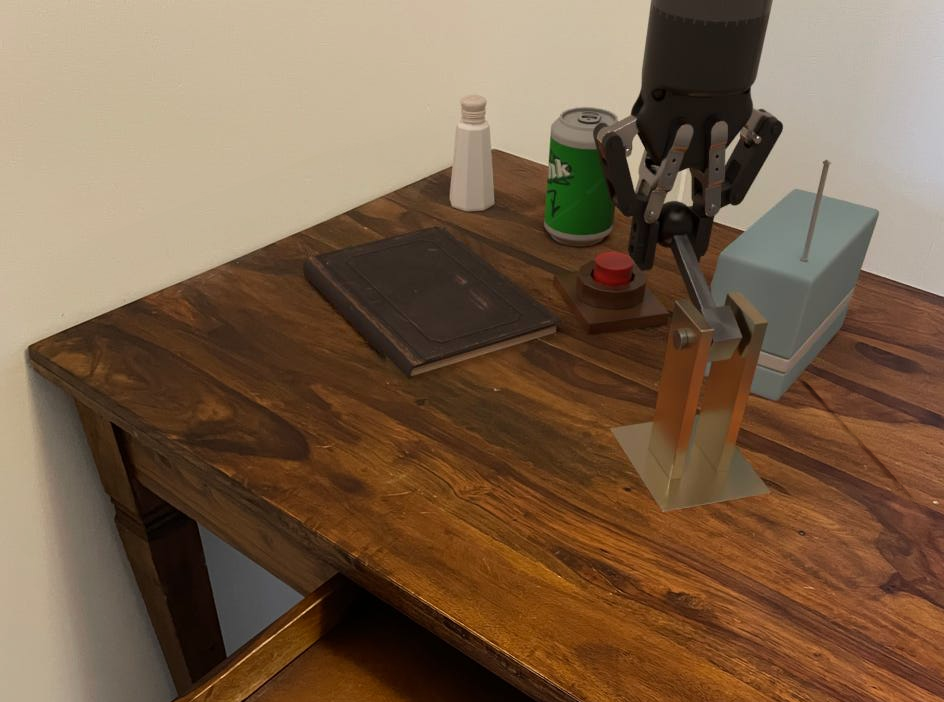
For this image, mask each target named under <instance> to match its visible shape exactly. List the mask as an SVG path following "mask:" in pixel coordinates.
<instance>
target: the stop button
mask: <svg viewBox="0 0 944 702" xmlns="http://www.w3.org/2000/svg"><path fill="white" fill-rule="evenodd" d="M594 260H595V265H594V274H593V278H594V280H595V281H597V282H599V283H601V284H603V285H611V286H620V285H626V284H628V283H630V281H631V277H632V270H633V264H635V262H634V260H633V259H632V258H631V257H630V256H629V254H626V253H623V252H620V251H619V252H618V251H606V252H602V253H599V254H598V255H596V256H595V258H594Z"/></svg>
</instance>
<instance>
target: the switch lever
mask: <svg viewBox="0 0 944 702" xmlns="http://www.w3.org/2000/svg"><path fill="white" fill-rule="evenodd" d="M688 206H689V205H687V204H686V203H684V202H682V201H678V200H670V201H666V202H664V204H663V207H662V210H661V213H660V216H659V218H658V219H657V221H658V222H659V223H660V226H659V232H658V238H657V244H658V245H659V246H661V247H663V248H666V249H670V250H671V253H672V256H673V258H674V260H675V263H676V266H677V268H678V271H679V273H680V276H681V279H682V281H683V283H684V285H685V288H686V291H687V294H688V296H689V298H690V299H689V300H690V302H691V303H692V304H693V305H694V306H695V308H696V309H697V310H698V311H699V312H700V313H701V315H702V316H703V317H704V318H705V319H706V320H707V321H708V323H709V324H710V325H711V326H712V327H713V328H714V334H713V338H712V343H711V347H710V352H709V356H708V361H707V362H712V361H719V360H726V359H730V358H731V356H732V355H733V353H734V351H735V350H736V348H737V346H738V344H739V343H740V341H741V339H742V335H741V332H740V330H739V327H738V325H737V322H736V320H735V317H734V315H733V313H732V310H731V308H730V306H721V307H716V305H715V303H714V300H713V298H712V295H711V289H710V288H709V285H708V283H707V280H706V278H705V275H704V273H703V270H702V268H701V266H700V262H699V263H698V260H697V258H696V256H695V253H694V251H693V248H692V246H691V243H690V241H689V237H690V236H691V234H692V232H693V229H694V216H693V213H692V211H691V210H690V208H689V207H688Z"/></svg>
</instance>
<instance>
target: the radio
mask: <svg viewBox="0 0 944 702" xmlns="http://www.w3.org/2000/svg"><path fill="white" fill-rule="evenodd" d="M830 165H832V162H831V161H829V160H828V159H825V160H823V161H822V170H821V175H820V178H819V183H818V187H817V191H816V192H811V191H808V190H804V189H800V188H794V189H792V190H791V191H790V192H788V194H786V195H785V196H784V197H783V198H781V199H780V200H779V201H778V202H777V203H776V204H775V205H774V206H772V207H771V208H770V209H769V210H768V211H767V212H765V213H764V214H763V215H762V216H760V218H758V219H757V220H756V221H755V222H753V224H752V225H750V226H749V227H748V228H747V229H746V230H745V231H744V232H742V233H741V234H739V236H738V237H737V238H735V240H733V241H732V242H731V243H729V245H727V246H726V247H725V248H724V249H723V250H722V251H721V252H720V253H719V255H718V258H717V262H716V266H715V272H714V273H713V277H712V280H711V282H710V285H709V287H710V288H709V289H710V293H711V295H712V298H713V300H714V303H715V305H716V307H721V306H724V305H725V300H726V296H727V293H733V292H740V293H741V294H742V295H743V296H744V297H745V298H746V299H747V300H748V301H749V302H750V303H751V304H752V305H753V306H754V307H755V308H756V310H757V311H758V312H759V313H760V314H761V315H762V316H763V317H764V318H765V319H766V320H767V321H768V325H767V329H766V333H765V336H764V340H763V344H762V348H761V351H760V355H759V359H758V362H757V366H756V370H755V374H754V377H753V381H752V385H751V389H750V392H749V393H750V394H754V395H757V396H760V397H763V398H765V399H767V400H771V401H774V402H778V401H779V400H780V399H781V398H782V397H783V395H785V393H786V392H787V391H788V390H789V389H790V388H791V387H792V385H793V384H794V383H795V382H796V381H797V380H798V379H799V377H801V375H802V374H803V373H804V372H805V370H806V369H807V368H808V367H809V366H810V364H811V363H812V362H813V361H814V360H815V359H816V358H817V356H819V354H820V353H821V351H823V350H824V348H825V347H826V346H827V345H828V344H829V342H831V340H832V339H833V338H834V336H835V335H836V334H837V333H838V332H839V331H840V329H841V328H842V327H843V325H844V322H845V320H846V316H847V313H848V311H849V307H850V304H851V300H852V298H853V295H854V292H855V289H856V288H855V287H856V285H857V283H858V280H859V277H860V274H861V271H862V267H863V265H864V262H865V258H866V255H867V252H868V250H869V247H870V243H871V240H872V238H873V234H874V231H875V229H876V225H877V222H878V219H879V216H880V211H879V209H876V208H873V207H869V206H866V205H863V204H858V203H854V202H850V201H846V200H842V199H838V198H835V197H830V196H827V195H824V189H825V184H826V181H827V177H828V172H829V169H830ZM710 366H711V362H707V365H706V370H705V374H704V377H706V378H708V375H709V371H710Z"/></svg>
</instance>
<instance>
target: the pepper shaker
mask: <svg viewBox="0 0 944 702" xmlns="http://www.w3.org/2000/svg"><path fill="white" fill-rule="evenodd" d="M487 103H488V102H487V99H486V98H485V97H484V96H481V95H479V94H468V95H465V96H463V97H461V99H460V107H461V108H460V110H461V111H460V112H461V113H460V115H461V119H460V120H459V121H457V122H456V128H455V134H454V135H455V137H454V147H453V156H452V157H453V158H452V167H451V177H450V188H449V196H448V197H449V198H448V199H449V202H450V205H451V207H452V208H454V209H457V210H460V211H463V212H466V213H467V212H469V213H470V212H484V211H486V210H488V209H490V208H492V207H493V206H495V205H496V203H495V189H494V173H493V172H494V171H493V170H494V169H493V156H492V139H491V127H490V124H489V121H487V120H486V112H487V110H486V108H487V107H486V106H487Z"/></svg>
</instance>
